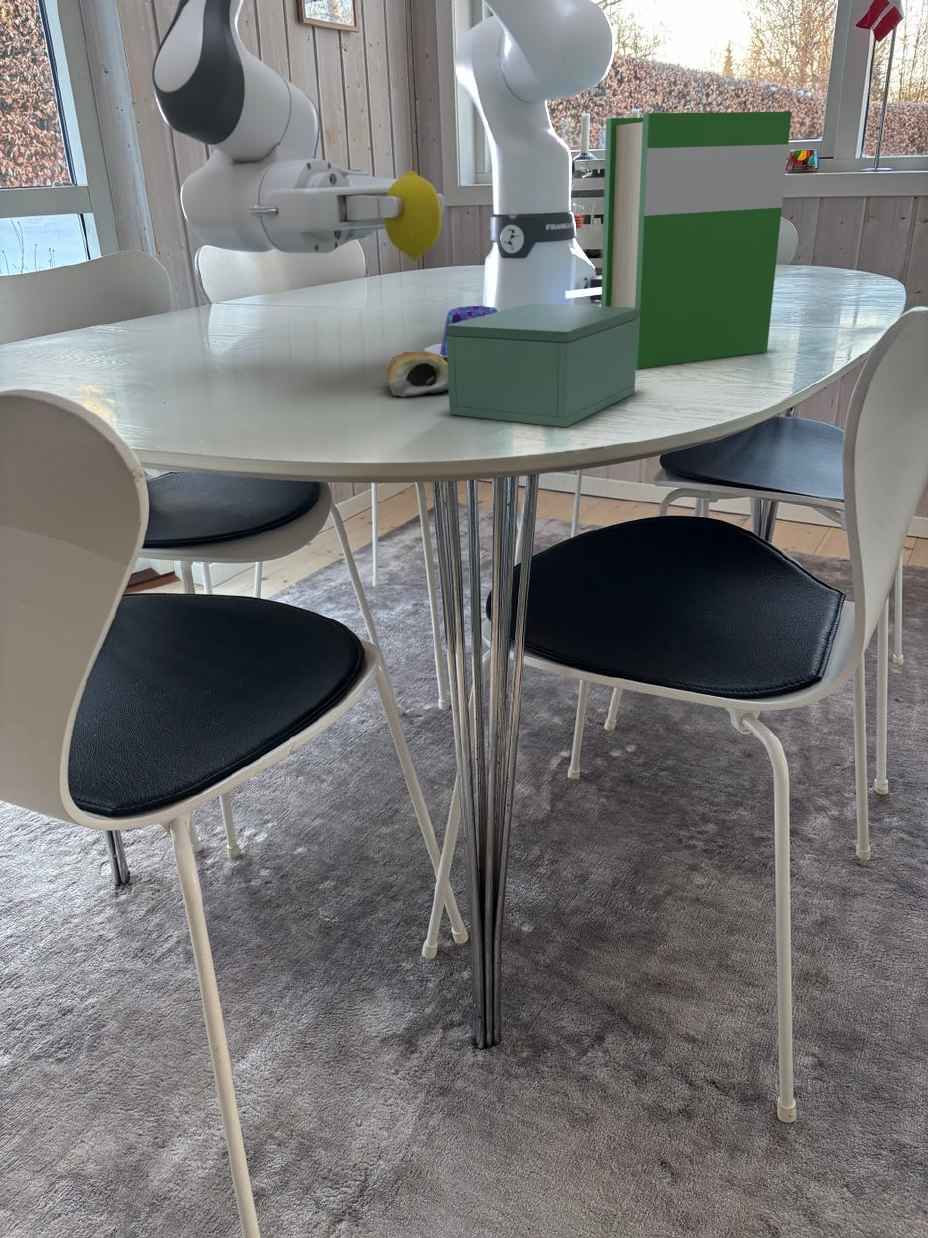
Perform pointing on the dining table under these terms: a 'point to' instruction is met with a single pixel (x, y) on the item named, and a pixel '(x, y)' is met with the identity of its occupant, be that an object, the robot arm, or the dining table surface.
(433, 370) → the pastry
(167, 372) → the dining table surface
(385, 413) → the dining table surface
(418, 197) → the lemon
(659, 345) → the hardback book
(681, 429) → the dining table surface
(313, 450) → the dining table surface
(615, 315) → the sage green box lid
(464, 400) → the box
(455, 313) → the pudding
